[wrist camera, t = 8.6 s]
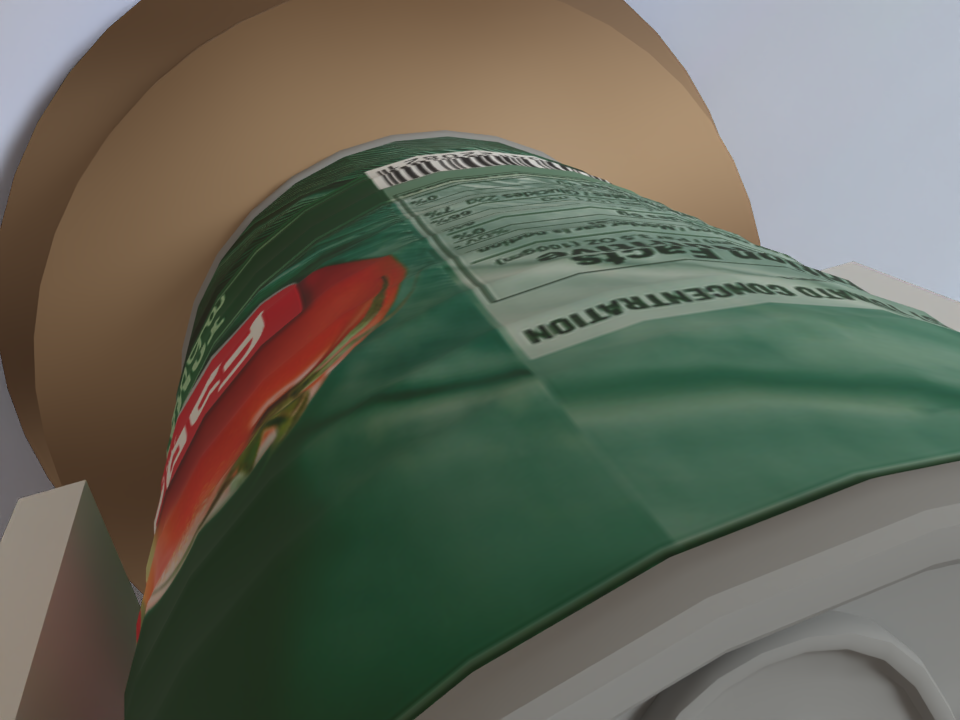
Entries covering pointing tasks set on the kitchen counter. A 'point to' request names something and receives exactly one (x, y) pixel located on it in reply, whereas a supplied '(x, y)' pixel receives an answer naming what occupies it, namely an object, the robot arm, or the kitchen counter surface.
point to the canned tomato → (545, 464)
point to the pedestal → (284, 179)
